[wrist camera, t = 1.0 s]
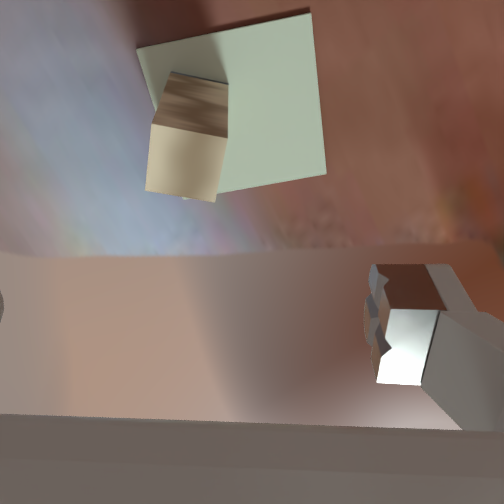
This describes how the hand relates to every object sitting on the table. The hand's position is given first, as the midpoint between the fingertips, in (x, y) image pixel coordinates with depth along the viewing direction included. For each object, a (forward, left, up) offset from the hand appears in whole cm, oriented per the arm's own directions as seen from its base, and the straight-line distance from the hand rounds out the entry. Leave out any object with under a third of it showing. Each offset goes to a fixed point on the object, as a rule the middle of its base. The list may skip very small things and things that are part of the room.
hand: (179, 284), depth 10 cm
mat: (+11, 0, -38) cm, 39 cm away
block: (+9, -4, -38) cm, 39 cm away
